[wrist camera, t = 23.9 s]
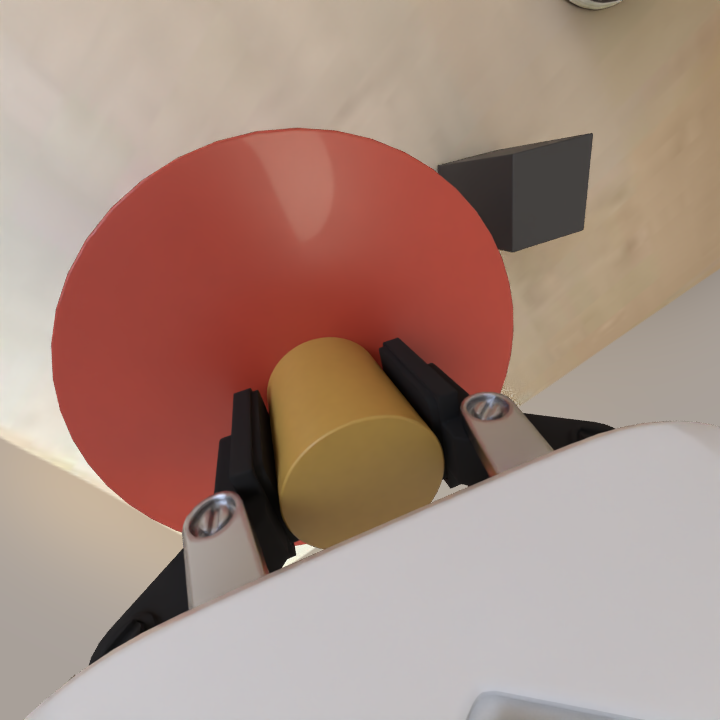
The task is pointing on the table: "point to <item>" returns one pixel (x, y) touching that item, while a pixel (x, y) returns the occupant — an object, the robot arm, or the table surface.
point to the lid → (278, 325)
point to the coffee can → (595, 3)
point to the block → (527, 190)
